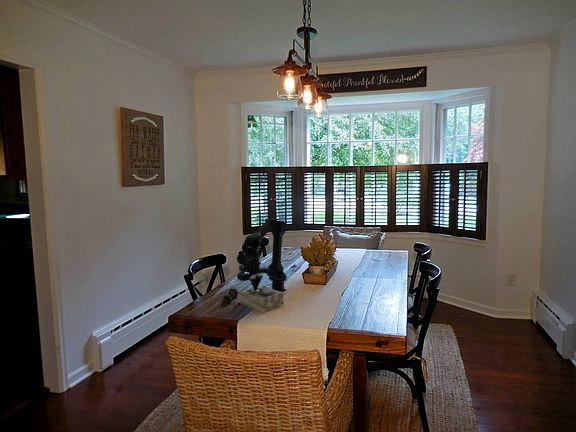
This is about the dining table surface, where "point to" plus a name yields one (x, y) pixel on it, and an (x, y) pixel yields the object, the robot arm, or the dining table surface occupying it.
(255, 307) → the jig block
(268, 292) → the peg
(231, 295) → the bolt
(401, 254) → the dining table surface
